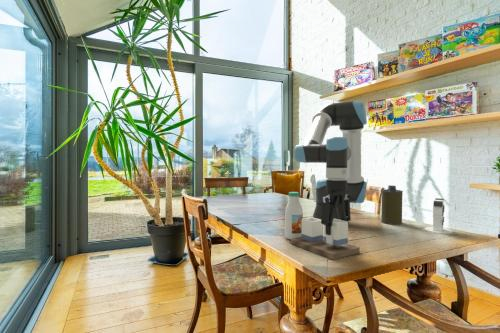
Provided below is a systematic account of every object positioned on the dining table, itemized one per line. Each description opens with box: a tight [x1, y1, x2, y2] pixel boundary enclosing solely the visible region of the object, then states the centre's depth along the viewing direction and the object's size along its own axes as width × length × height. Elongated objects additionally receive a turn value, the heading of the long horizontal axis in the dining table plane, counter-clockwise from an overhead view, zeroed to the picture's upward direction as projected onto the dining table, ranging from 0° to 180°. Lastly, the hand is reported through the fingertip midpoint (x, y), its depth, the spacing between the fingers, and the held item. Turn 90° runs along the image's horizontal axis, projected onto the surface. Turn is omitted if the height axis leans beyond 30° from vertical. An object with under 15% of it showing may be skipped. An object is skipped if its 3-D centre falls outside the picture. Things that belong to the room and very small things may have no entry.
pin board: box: [290, 235, 361, 261], centre depth 110 cm, size 22×14×7 cm, turn 33°
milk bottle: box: [284, 191, 304, 240], centre depth 124 cm, size 8×8×20 cm
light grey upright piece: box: [423, 197, 453, 235], centre depth 136 cm, size 12×11×15 cm
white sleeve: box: [323, 219, 349, 246], centre depth 105 cm, size 6×6×8 cm
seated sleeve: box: [302, 217, 324, 242], centre depth 115 cm, size 6×6×8 cm
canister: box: [380, 185, 404, 226], centre depth 153 cm, size 11×10×20 cm
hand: (336, 241), depth 105 cm, fingers closed on white sleeve, 6 cm apart
